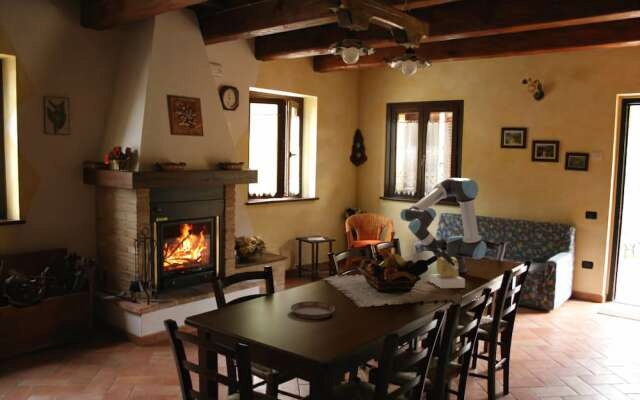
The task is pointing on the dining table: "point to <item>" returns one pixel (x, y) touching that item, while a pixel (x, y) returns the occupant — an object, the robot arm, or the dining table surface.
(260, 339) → the dining table surface
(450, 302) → the dining table surface
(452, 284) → the stand
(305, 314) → the plant saucer
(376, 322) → the dining table surface
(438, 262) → the cheese
